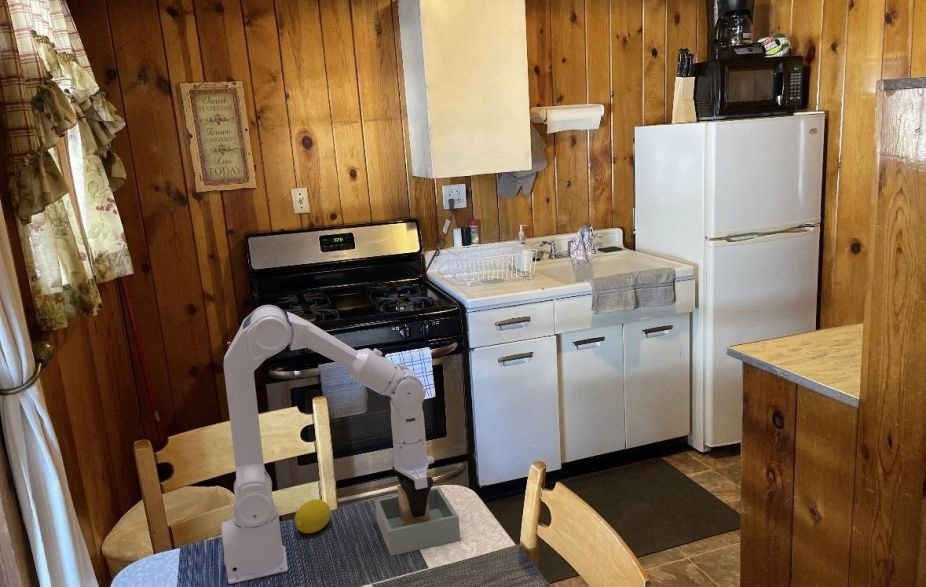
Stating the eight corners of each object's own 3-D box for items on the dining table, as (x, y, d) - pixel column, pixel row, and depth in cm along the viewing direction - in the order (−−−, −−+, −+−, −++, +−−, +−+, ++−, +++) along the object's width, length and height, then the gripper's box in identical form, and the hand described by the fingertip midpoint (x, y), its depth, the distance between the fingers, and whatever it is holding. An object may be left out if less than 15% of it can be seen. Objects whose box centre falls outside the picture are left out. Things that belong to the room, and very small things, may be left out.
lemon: (331, 489, 132) (301, 508, 125) (343, 516, 132) (313, 537, 125) (312, 495, 135) (282, 515, 128) (324, 522, 135) (294, 543, 128)
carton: (405, 528, 124) (402, 496, 123) (400, 516, 128) (397, 486, 127) (430, 523, 125) (427, 491, 124) (424, 511, 130) (421, 481, 128)
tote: (390, 556, 120) (388, 531, 119) (377, 522, 131) (374, 499, 131) (460, 540, 123) (458, 516, 122) (441, 508, 135) (439, 486, 134)
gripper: (442, 448, 118) (448, 523, 121) (421, 420, 132) (426, 488, 134) (401, 456, 116) (407, 532, 119) (384, 427, 130) (390, 495, 133)
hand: (415, 509), depth 127 cm, fingers closed on carton, 4 cm apart
